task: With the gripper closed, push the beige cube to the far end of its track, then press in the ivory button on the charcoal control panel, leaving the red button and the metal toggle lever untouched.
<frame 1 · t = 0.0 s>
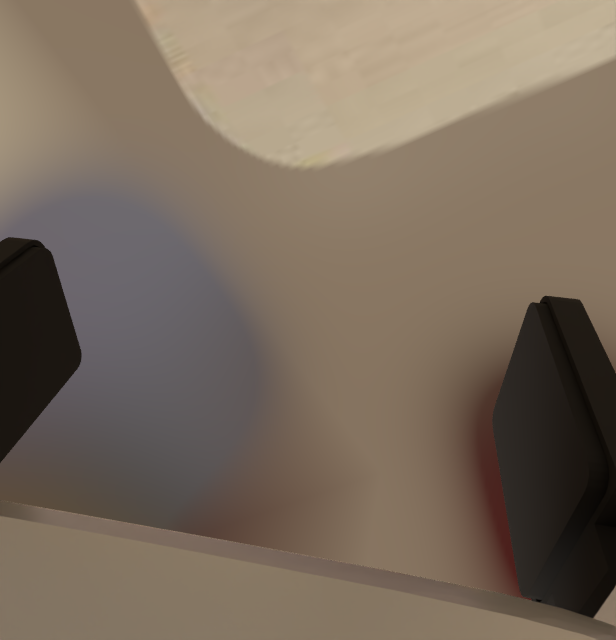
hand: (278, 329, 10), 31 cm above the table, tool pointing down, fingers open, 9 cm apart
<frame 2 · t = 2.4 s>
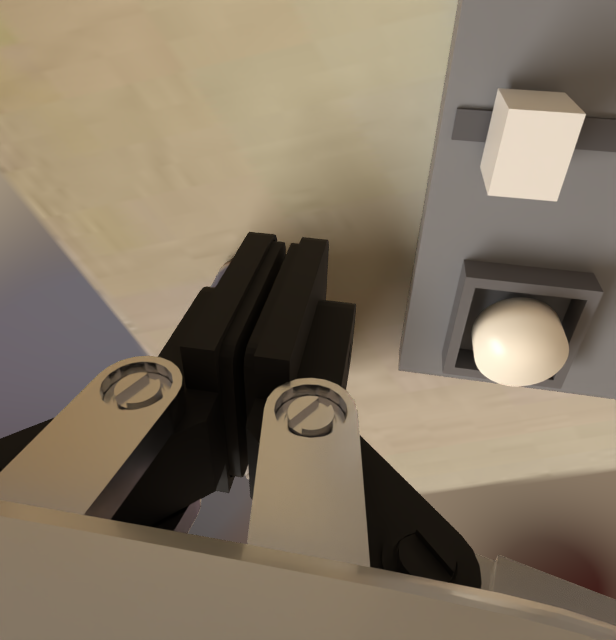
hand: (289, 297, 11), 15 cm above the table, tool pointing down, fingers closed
ivory button: (517, 342, 24), point 4 cm above the table, slide at 0.0 cm
beige cube: (526, 143, 19), point 4 cm above the table, slide at 0.0 cm
panel: (607, 223, 24), on the table
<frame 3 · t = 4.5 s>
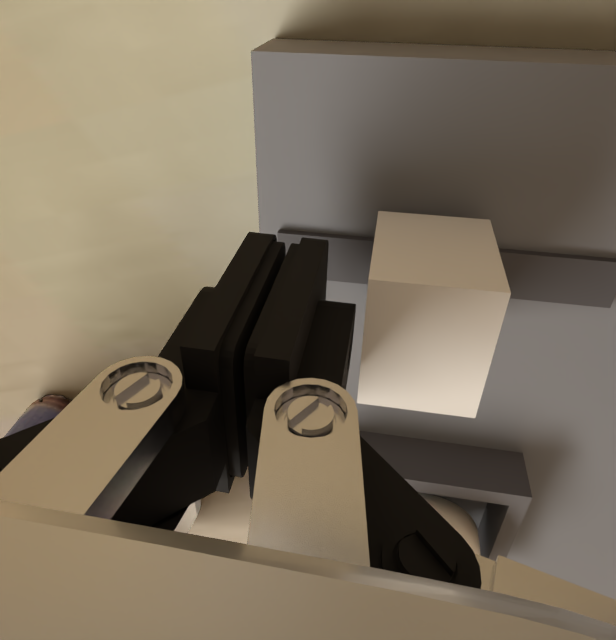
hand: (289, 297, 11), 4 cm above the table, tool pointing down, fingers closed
ivory button: (413, 554, 16), point 4 cm above the table, slide at 0.0 cm
beige cube: (424, 309, 11), point 4 cm above the table, slide at 1.1 cm, touching gripper
flask: (122, 459, 23), on the table
panel: (544, 372, 16), on the table
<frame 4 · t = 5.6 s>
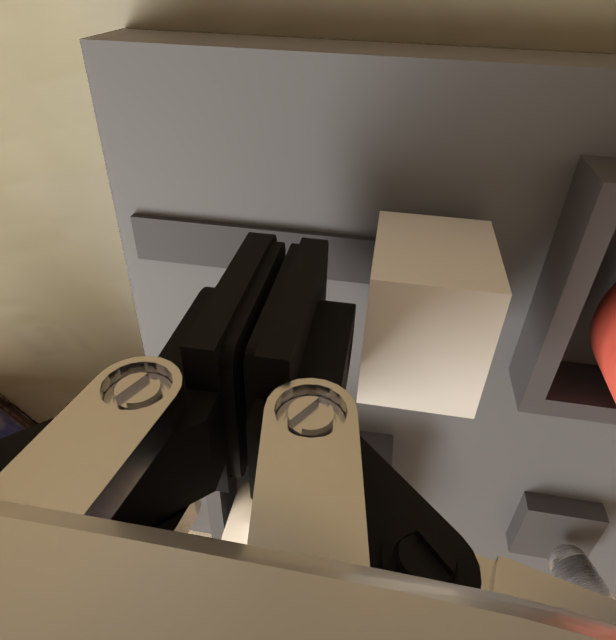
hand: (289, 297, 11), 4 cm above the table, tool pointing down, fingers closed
ivory button: (289, 532, 16), point 4 cm above the table, slide at 0.0 cm
beige cube: (424, 310, 11), point 4 cm above the table, slide at 4.9 cm, touching gripper
flask: (40, 443, 23), on the table
panel: (420, 358, 17), on the table
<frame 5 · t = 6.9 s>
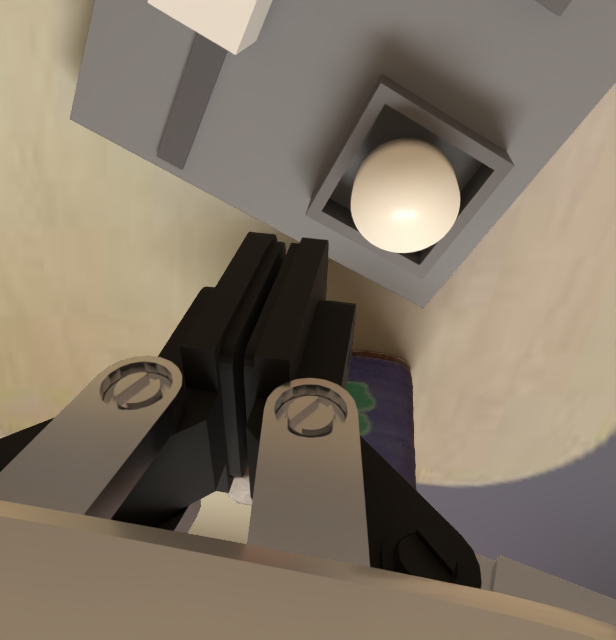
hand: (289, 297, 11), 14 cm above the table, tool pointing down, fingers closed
ivory button: (404, 196, 20), point 4 cm above the table, slide at 0.0 cm
flask: (334, 365, 31), on the table
panel: (356, 27, 20), on the table
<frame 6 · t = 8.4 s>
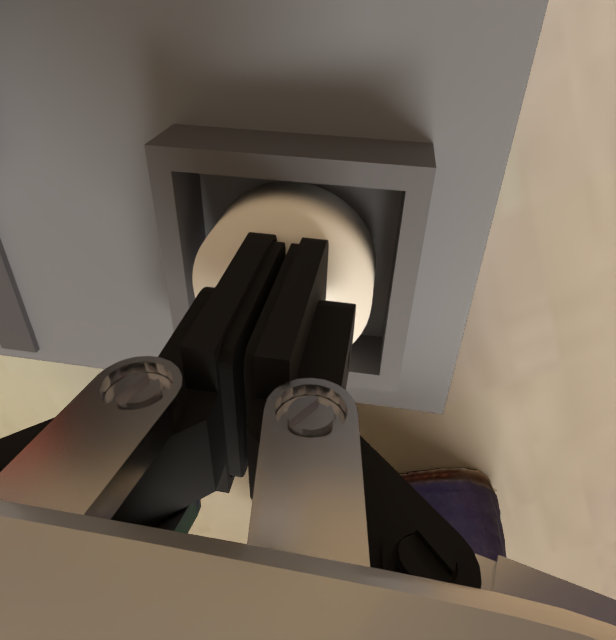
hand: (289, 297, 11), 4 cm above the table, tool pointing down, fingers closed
ivory button: (287, 277, 12), point 3 cm above the table, slide at 0.8 cm, touching gripper
flask: (384, 497, 22), on the table
panel: (139, 74, 13), on the table
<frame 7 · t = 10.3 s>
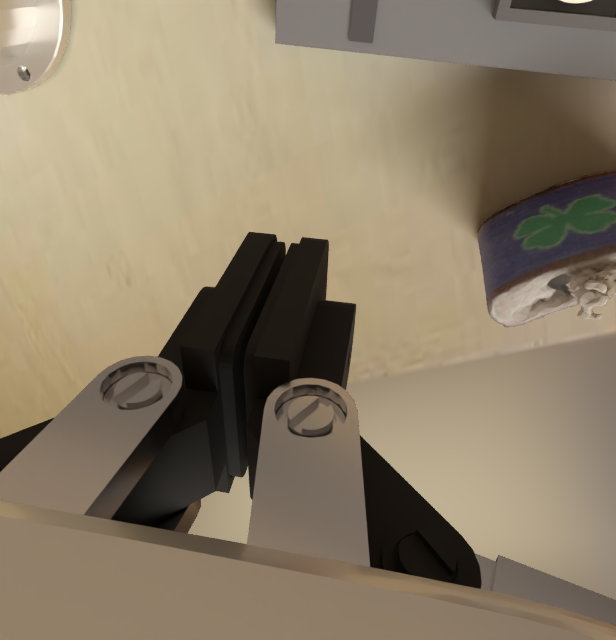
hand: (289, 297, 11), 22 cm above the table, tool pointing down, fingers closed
flask: (554, 208, 31), on the table
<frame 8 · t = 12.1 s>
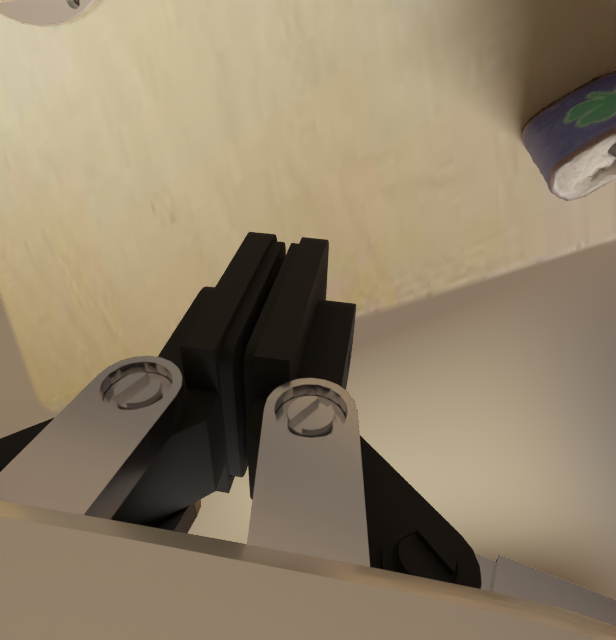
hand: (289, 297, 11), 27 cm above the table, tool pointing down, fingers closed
flask: (595, 102, 32), on the table
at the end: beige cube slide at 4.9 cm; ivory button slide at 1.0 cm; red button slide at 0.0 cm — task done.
